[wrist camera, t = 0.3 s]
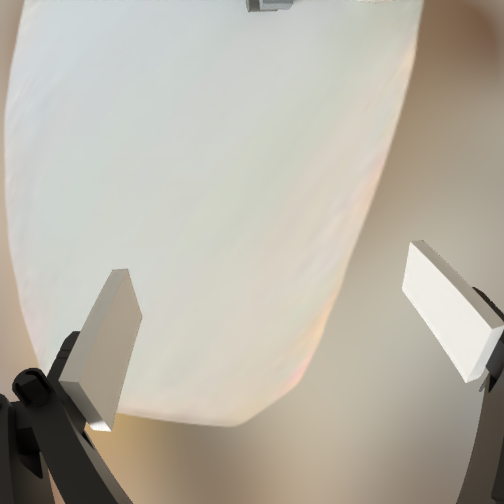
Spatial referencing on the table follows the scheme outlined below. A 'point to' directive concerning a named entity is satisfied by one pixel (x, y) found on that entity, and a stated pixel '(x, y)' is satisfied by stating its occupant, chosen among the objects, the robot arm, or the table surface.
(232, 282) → the table surface
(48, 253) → the table surface
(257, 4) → the caster wheel
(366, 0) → the cup
